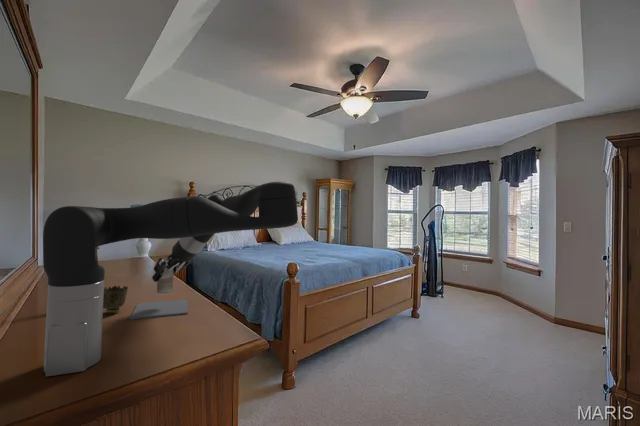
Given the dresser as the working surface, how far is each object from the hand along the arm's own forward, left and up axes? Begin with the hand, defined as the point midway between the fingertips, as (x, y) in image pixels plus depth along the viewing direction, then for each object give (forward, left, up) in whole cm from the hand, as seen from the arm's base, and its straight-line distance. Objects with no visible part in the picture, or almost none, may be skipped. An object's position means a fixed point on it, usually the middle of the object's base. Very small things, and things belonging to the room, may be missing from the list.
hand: (161, 278), depth 101 cm
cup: (0, +13, -11) cm, 17 cm away
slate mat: (-1, -1, -10) cm, 10 cm away
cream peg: (-1, -1, -4) cm, 5 cm away
